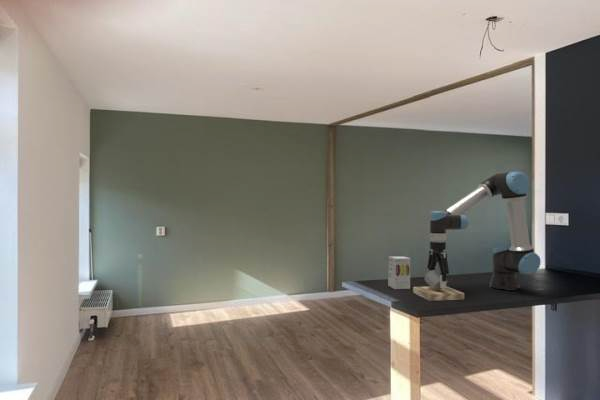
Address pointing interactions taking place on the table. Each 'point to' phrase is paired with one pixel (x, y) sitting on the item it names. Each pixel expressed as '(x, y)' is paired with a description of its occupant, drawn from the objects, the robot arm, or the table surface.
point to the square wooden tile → (438, 293)
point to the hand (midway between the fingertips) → (437, 285)
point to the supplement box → (399, 272)
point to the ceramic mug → (433, 279)
